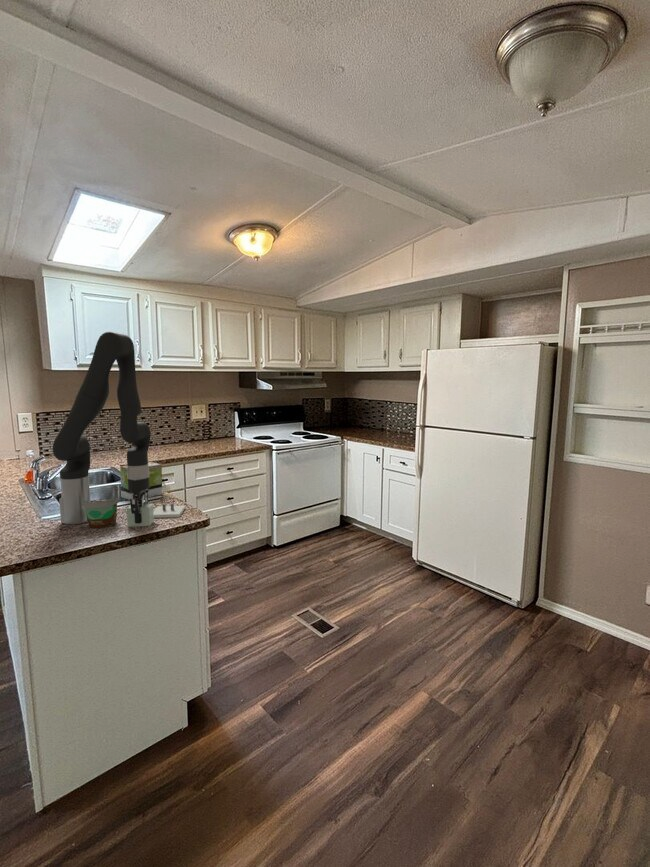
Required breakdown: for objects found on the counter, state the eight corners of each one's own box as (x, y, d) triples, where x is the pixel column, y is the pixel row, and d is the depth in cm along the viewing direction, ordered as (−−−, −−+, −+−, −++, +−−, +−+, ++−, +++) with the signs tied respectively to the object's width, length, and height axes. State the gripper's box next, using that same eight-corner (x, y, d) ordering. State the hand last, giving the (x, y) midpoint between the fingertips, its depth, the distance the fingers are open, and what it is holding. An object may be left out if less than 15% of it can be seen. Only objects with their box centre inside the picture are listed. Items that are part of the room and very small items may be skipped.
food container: (79, 530, 147) (77, 503, 146) (84, 524, 153) (82, 498, 152) (116, 527, 150) (115, 501, 149) (120, 521, 156) (118, 496, 155)
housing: (127, 526, 151) (126, 508, 150) (132, 521, 156) (131, 504, 155) (150, 525, 152) (149, 507, 151) (153, 521, 157) (153, 503, 156)
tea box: (132, 501, 181) (130, 469, 179) (121, 497, 187) (119, 466, 185) (163, 494, 193) (162, 463, 191) (151, 490, 199) (150, 460, 197)
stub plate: (150, 517, 161) (149, 508, 160) (158, 509, 172) (157, 500, 171) (179, 517, 162) (178, 508, 162) (185, 508, 173) (185, 499, 172)
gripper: (134, 472, 158) (136, 514, 161) (120, 481, 144) (123, 527, 147) (154, 471, 159) (156, 513, 162) (142, 480, 145) (145, 527, 147)
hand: (140, 520), depth 154 cm, fingers closed on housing, 5 cm apart
